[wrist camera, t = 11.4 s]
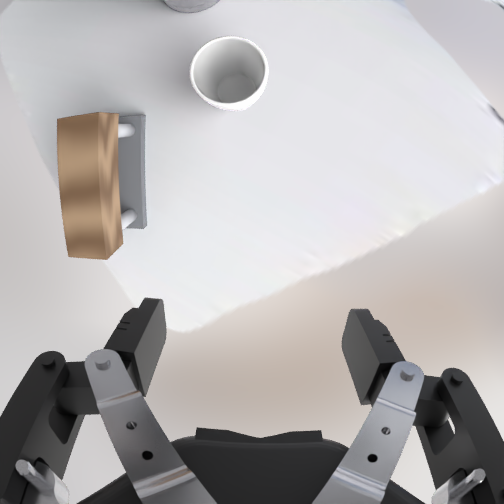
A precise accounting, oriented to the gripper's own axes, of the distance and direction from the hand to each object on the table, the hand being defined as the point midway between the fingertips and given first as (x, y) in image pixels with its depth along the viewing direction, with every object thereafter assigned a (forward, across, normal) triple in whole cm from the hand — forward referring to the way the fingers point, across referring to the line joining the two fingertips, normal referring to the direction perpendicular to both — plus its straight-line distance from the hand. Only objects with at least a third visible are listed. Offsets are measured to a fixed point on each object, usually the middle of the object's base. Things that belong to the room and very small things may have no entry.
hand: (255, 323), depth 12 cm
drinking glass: (+30, +3, -13) cm, 33 cm away
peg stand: (+30, +19, -2) cm, 36 cm away
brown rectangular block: (+23, +19, -2) cm, 29 cm away
